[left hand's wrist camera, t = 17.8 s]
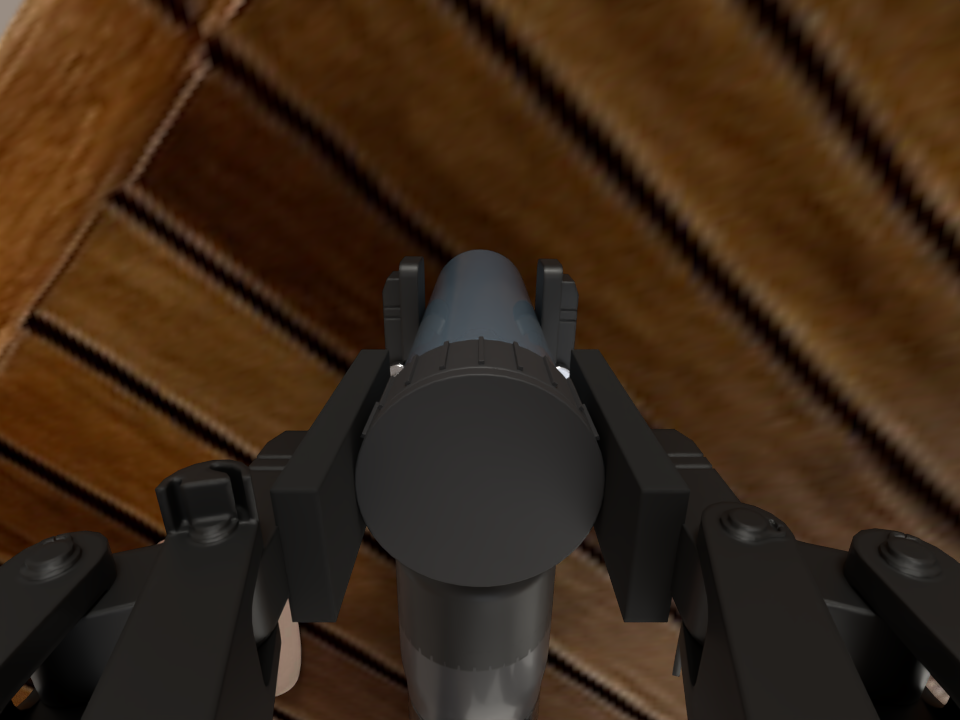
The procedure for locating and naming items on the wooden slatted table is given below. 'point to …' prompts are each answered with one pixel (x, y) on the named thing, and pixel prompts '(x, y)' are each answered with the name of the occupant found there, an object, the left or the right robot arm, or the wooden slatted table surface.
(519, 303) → the blue-grey cylindrical bottle
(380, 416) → the lid
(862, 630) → the left robot arm
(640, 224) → the wooden slatted table surface
